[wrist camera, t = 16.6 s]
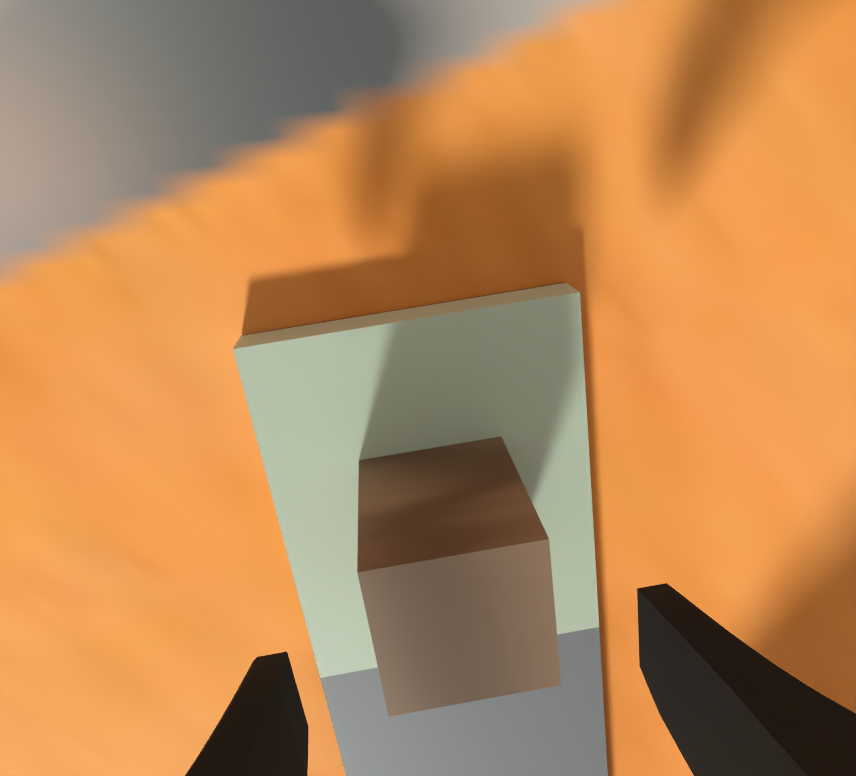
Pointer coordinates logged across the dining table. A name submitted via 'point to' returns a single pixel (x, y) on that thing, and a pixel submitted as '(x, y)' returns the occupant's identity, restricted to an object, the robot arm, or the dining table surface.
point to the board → (422, 429)
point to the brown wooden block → (454, 577)
